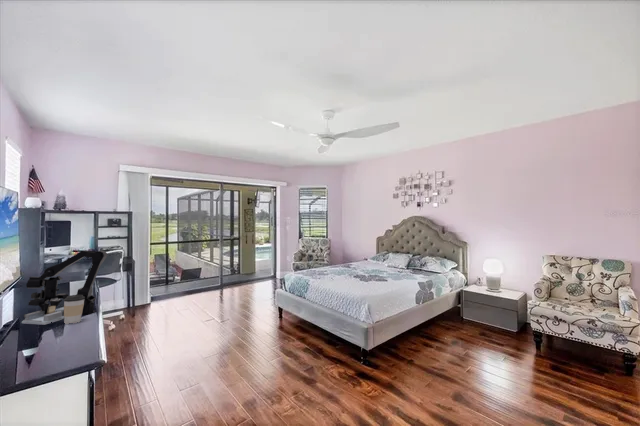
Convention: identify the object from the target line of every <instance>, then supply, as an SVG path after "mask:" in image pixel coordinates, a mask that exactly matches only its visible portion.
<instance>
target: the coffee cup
mask: <svg viewBox="0 0 640 426" xmlns="http://www.w3.org/2000/svg"><path fill="white" fill-rule="evenodd" d="M84 299H85V297H84V296H83V295H76V294H72V295H68V296H67V298H65V299H63V303H64V304H63V316H64V319H63V322H64V323H65V324H64V325H70V324H69V323H73V324H77V322H78V323H80V322H81V320H82V315H83V314H82V311H83V306H84Z"/></svg>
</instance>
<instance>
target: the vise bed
mask: <svg viewBox="0 0 640 426" xmlns="http://www.w3.org/2000/svg"><path fill="white" fill-rule="evenodd" d="M61 320H64V315H63V311H58V310H57V311H55V312H54V313H51V314H47V315H44V316H42V317H39V318H35V319H32V320H25V319H23V320H22V321H21V324H25V325H26V324H27V325H41V326H42V325H43V326H44V325H48V324H52V323H55V322H58V321H61ZM51 322H52V323H51Z"/></svg>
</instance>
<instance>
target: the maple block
mask: <svg viewBox="0 0 640 426" xmlns="http://www.w3.org/2000/svg"><path fill="white" fill-rule="evenodd" d="M55 308H57V307H56V306H51V304H49V307H48V310H47V313H46V315H47V314H51V313H54V312H56V309H55ZM40 311H42V310H41V309H40Z"/></svg>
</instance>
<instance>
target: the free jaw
mask: <svg viewBox="0 0 640 426" xmlns="http://www.w3.org/2000/svg"><path fill="white" fill-rule="evenodd" d="M44 312H45V311H41V310H37V311H33V312H29V313H27V314H26V313H25V314H23V318H24V320H32V319H35V318H39V317H42V316H44Z"/></svg>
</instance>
